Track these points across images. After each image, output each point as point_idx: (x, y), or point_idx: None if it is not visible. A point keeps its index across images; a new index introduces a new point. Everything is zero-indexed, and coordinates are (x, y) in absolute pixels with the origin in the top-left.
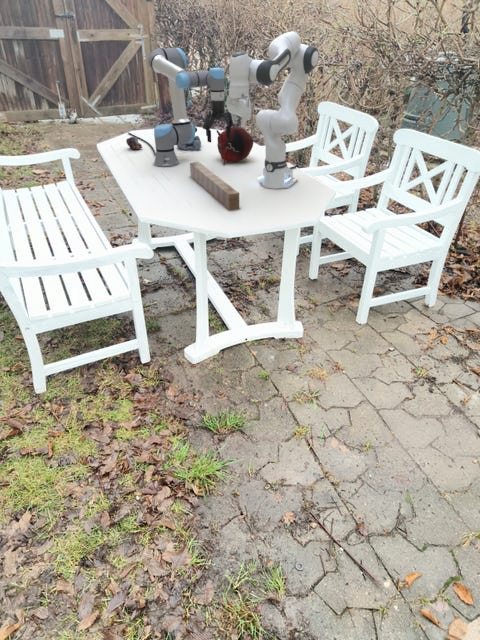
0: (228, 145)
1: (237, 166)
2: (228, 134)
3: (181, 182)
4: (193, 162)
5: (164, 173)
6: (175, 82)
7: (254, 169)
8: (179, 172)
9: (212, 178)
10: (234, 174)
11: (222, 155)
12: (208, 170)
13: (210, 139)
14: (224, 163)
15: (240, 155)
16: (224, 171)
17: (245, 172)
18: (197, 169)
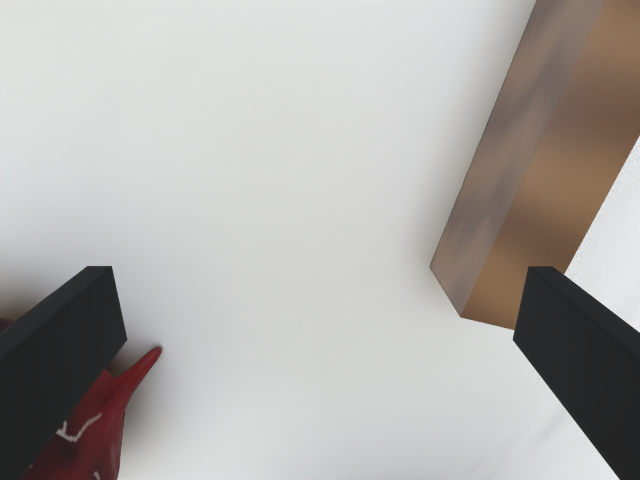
0: None
1: None
2: (71, 326)
3: (617, 219)
4: (503, 325)
5: (547, 417)
6: None
7: (7, 132)
8: (473, 386)
9: None
10: (214, 128)
11: (122, 421)
12: (613, 11)
13: (575, 292)
14: (153, 351)
15: (5, 327)
16: (235, 235)
17: (111, 114)
18: (635, 137)
